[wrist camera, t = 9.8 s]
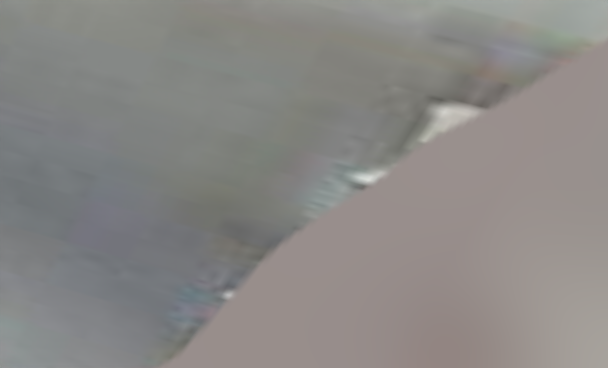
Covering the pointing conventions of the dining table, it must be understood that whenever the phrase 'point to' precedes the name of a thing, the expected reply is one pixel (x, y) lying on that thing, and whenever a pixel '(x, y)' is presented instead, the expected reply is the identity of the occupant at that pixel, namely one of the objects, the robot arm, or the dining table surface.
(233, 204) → the dining table surface
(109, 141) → the dining table surface
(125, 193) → the dining table surface
